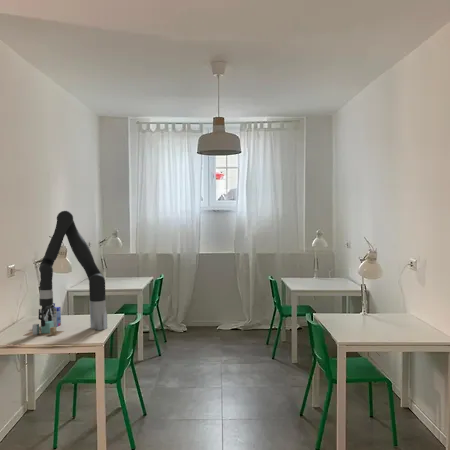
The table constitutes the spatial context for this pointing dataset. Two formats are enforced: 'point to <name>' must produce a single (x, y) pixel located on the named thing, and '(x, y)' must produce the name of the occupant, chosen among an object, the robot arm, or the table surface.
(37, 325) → the post
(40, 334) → the board
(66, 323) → the table surface
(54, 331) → the tan block
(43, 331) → the aqua matte cube
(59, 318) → the ink cartridge box
